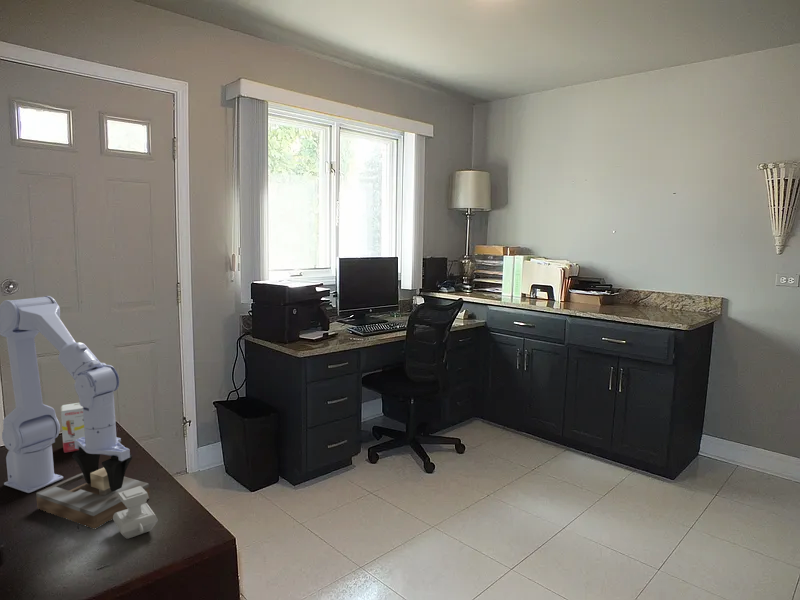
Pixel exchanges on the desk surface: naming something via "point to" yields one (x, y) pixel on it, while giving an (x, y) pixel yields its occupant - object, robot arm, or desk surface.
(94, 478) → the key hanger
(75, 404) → the ink box
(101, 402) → the robot arm
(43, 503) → the keyhole base
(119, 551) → the desk surface
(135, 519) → the stamp
